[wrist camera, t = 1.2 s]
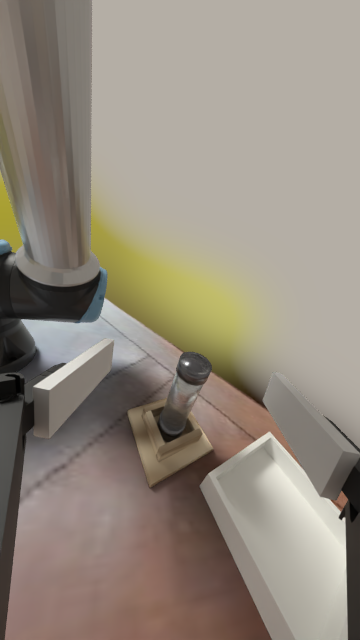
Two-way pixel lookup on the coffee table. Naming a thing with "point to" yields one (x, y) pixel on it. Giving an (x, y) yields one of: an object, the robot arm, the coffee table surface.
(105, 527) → the coffee table surface
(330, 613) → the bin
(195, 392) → the capped clear cylinder
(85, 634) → the coffee table surface
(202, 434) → the socket block
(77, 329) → the coffee table surface
